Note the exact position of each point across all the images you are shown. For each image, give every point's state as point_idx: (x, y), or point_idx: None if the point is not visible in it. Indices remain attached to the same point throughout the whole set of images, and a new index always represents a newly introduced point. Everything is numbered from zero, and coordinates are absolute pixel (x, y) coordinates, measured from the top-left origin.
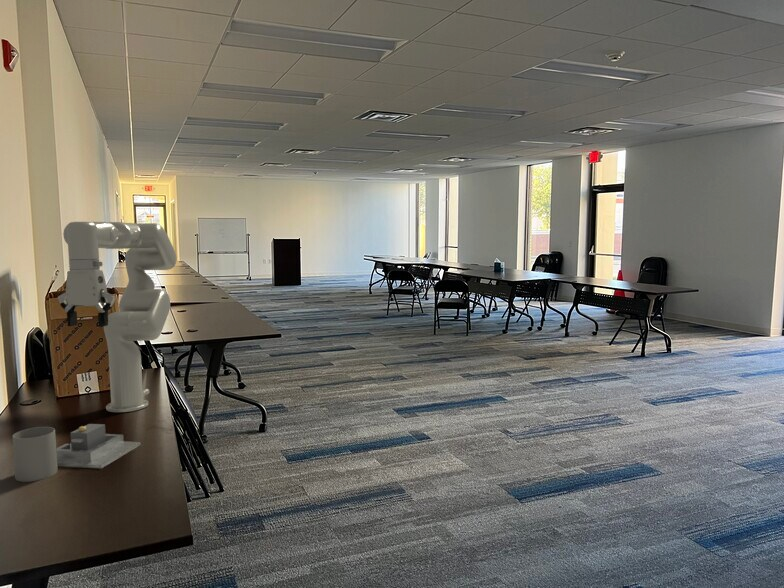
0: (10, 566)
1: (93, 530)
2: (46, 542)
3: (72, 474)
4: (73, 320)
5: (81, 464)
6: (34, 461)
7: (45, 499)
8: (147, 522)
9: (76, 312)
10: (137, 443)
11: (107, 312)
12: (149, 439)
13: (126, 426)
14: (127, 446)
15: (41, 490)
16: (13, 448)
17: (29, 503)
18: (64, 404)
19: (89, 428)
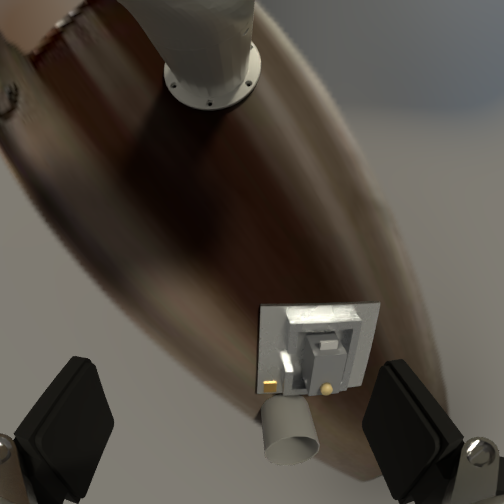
0: (363, 480)
1: None
2: (372, 466)
3: (331, 401)
4: (89, 421)
5: None
6: (300, 437)
7: (336, 440)
8: None
9: (45, 441)
10: (378, 309)
11: (463, 447)
12: (381, 272)
13: (299, 202)
14: (368, 323)
15: (320, 432)
16: (271, 450)
17: (325, 447)
18: (61, 86)
19: (330, 375)
